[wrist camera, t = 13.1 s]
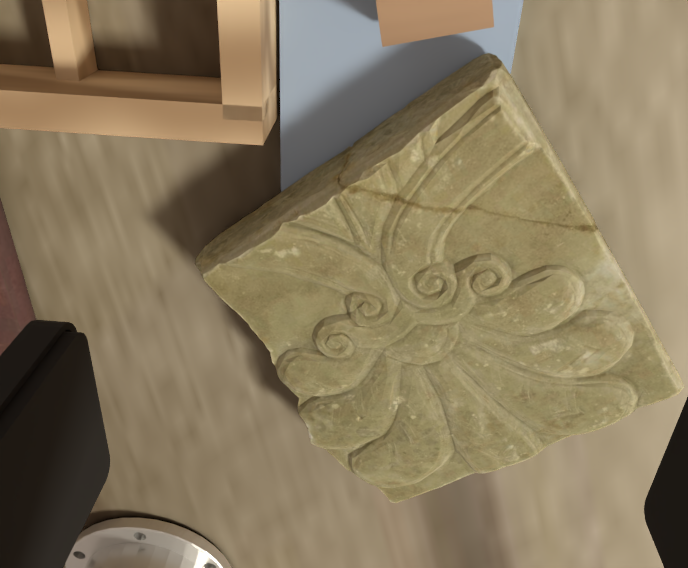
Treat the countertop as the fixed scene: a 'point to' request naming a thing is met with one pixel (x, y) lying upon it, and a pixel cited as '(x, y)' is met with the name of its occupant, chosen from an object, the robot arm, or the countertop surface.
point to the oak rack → (149, 84)
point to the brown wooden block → (430, 18)
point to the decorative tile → (442, 294)
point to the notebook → (11, 289)
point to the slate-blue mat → (362, 73)
